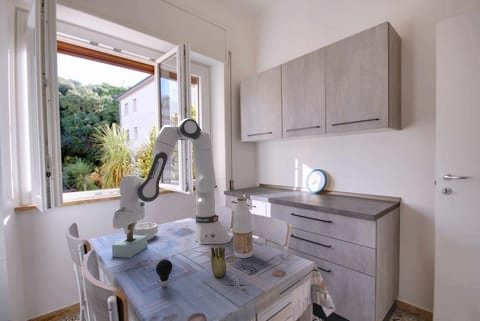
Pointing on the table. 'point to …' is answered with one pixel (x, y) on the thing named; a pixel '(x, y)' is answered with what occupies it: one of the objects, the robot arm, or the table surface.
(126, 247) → the hole block
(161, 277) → the light bulb
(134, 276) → the table surface
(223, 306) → the table surface
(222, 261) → the fennel bulb
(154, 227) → the paper bowls
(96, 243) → the table surface
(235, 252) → the fruit juice
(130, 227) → the walnut peg
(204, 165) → the robot arm
